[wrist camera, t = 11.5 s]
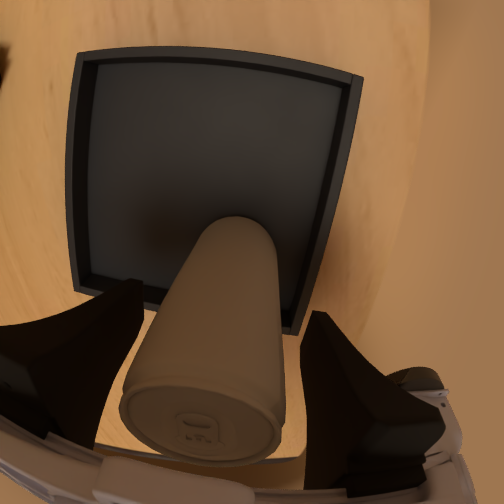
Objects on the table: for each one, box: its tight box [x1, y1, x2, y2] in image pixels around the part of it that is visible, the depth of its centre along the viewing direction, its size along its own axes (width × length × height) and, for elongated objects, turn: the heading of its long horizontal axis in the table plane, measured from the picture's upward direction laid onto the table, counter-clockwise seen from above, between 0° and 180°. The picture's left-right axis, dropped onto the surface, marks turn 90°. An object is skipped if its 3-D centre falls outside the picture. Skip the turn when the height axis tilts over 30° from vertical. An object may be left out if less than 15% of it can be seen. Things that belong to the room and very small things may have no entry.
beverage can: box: [119, 216, 286, 467], centre depth 12 cm, size 5×5×12 cm
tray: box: [65, 46, 364, 336], centre depth 16 cm, size 15×15×2 cm
